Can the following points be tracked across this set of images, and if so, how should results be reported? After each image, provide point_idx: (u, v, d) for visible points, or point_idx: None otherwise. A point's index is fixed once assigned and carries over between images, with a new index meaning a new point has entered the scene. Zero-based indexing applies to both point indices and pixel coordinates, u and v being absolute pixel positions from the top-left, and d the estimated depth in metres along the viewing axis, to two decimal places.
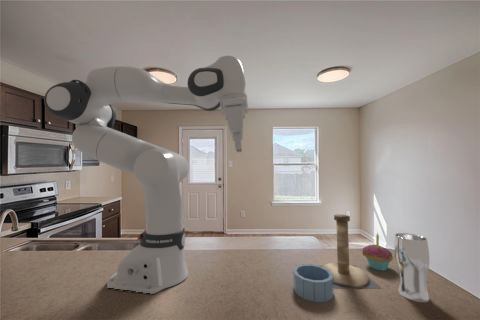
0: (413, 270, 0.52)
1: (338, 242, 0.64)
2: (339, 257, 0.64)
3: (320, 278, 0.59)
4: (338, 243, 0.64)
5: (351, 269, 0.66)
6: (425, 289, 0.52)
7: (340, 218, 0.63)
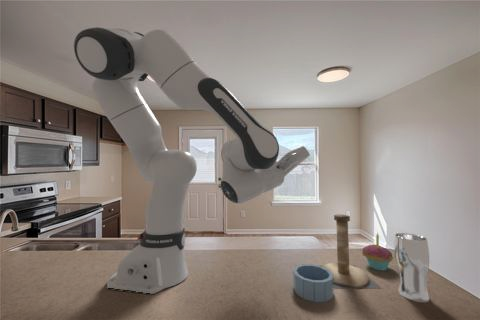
0: (413, 270, 0.52)
1: (338, 242, 0.64)
2: (339, 257, 0.64)
3: (320, 278, 0.59)
4: (338, 243, 0.64)
5: (351, 269, 0.66)
6: (425, 289, 0.52)
7: (340, 218, 0.63)
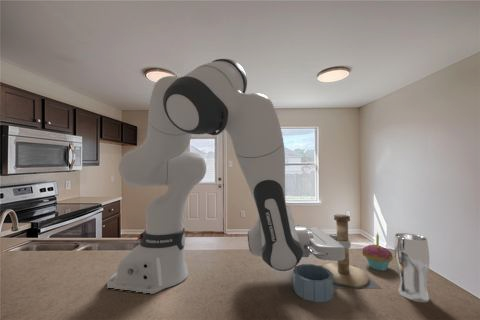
0: (413, 270, 0.52)
1: None
2: None
3: (320, 278, 0.59)
4: None
5: (351, 269, 0.66)
6: (425, 289, 0.52)
7: (340, 218, 0.63)
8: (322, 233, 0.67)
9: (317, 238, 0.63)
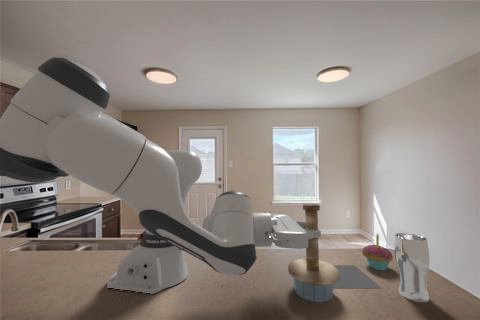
0: (413, 270, 0.52)
1: None
2: (307, 251, 0.56)
3: None
4: None
5: (322, 265, 0.58)
6: (425, 289, 0.52)
7: (308, 207, 0.56)
8: (290, 220, 0.59)
9: (282, 225, 0.55)
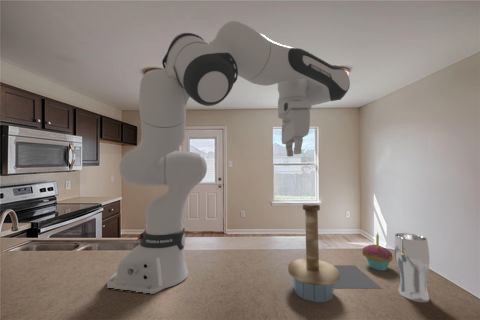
0: (413, 270, 0.52)
1: (306, 234, 0.57)
2: (307, 251, 0.56)
3: None
4: (306, 235, 0.57)
5: (322, 265, 0.58)
6: (425, 289, 0.52)
7: (308, 207, 0.56)
8: (288, 134, 0.62)
9: (286, 126, 0.67)
